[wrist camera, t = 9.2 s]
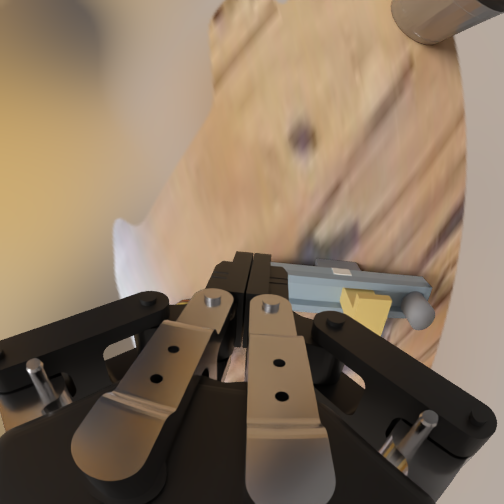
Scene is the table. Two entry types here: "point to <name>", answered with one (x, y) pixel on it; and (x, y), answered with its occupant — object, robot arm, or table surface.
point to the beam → (350, 276)
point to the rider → (366, 307)
